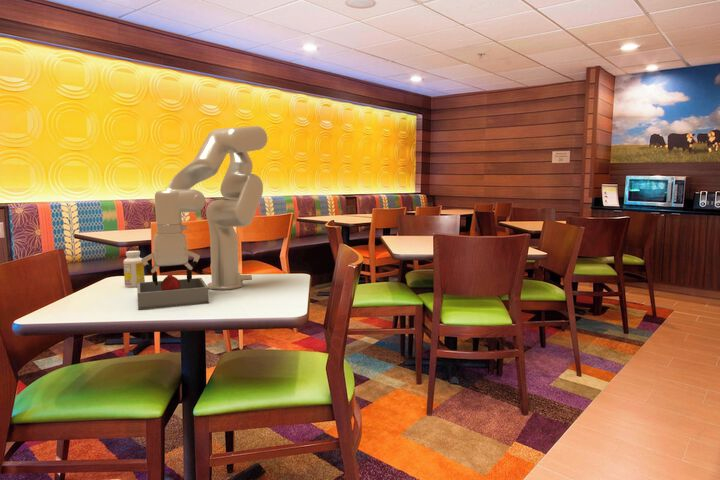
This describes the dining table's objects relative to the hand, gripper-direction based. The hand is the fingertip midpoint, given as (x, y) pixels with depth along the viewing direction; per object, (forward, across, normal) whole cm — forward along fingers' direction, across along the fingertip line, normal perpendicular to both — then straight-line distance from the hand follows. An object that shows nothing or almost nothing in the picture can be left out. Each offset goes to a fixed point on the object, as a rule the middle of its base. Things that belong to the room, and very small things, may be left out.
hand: (172, 283), depth 154 cm
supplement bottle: (+6, +11, -31) cm, 33 cm away
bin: (+6, 0, 0) cm, 6 cm away
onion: (+5, 0, 0) cm, 5 cm away
